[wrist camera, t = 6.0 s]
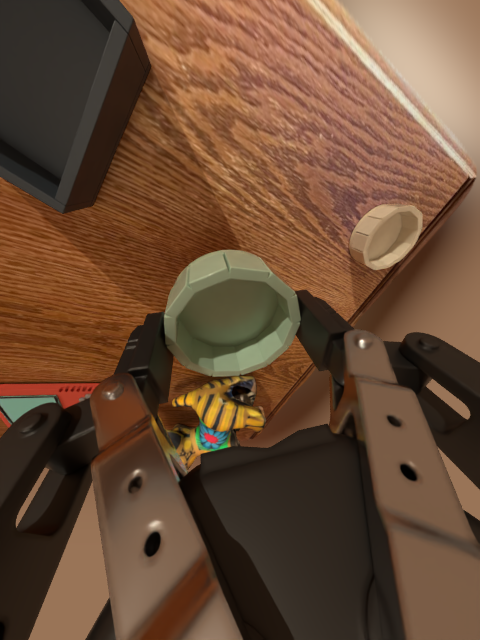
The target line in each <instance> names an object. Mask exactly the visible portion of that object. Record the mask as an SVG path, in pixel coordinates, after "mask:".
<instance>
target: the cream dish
mask: <svg viewBox="0 0 480 640" xmlns="http://www.w3.org/2000/svg"><path fill="white" fill-rule="evenodd" d="M421 231H422V213H421V212H420V211H419V210H418V209H417V208H416V207H415V206H412V205H405V204H382V205H379V206H377V207H375V208H373V209H372V210H370V211H369V212H368V213H367V214H365V215H364V216H363V217H362V219H361V220H360V221H359V222H358V224H357V225H356V227H355V228H354V230H353V233H352V235H351V238H350V242H349V251H350V254H351V256H352V258H353V259H354V260H356V261H358V262H359V263H361V264H363V265H365V266H367V267H369V268H371V269H373V270H379V269H386V268H387V267H388V268H389V267H390V266H392V265H394V264H395V263H397V262H398V261H400V260H401V259H403V258H404V256H405V255H406V254H407V253H408V252H409V251H410V250H411V249H412V248H413V246H414V245H415V243H416V241H417V239H418V237H419V235H420V233H421Z"/></svg>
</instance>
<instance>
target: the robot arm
mask: <svg viewBox="0 0 480 640" xmlns="http://www.w3.org/2000/svg"><path fill="white" fill-rule="evenodd" d="M295 294H296V295H297V298H298V304H299V310H300V316H301V321H300V326H299V328H298V330H297V332H296V336H297V337H298V339H299V341H300V342H301V344H302V345H303V347H304V348H305V350H306V351H307V353H308V355H309V356H310V358H311V359H312V361H313V362H314V364H315V366H316V367H317V368H318V370H319V371H324V370H329V371H330V373H331V375H330V378H329V381H330V382H329V383H330V413H331V414H330V423H329V425H328V424H324V425H320V426H315V427H311V428H307V429H303V430H299V431H297V432H295V433H293V434H292V435H290V436H288V437H287V438H285V439H283V440H282V441H280V442H278V443H277V444H275V445H274V446H272V447H269V448H257V447H241V446H231V447H227V448H223V449H219V450H215V451H210V452H206V453H202V454H201V464H200V465H198V466H196V467H195V468H194V469H192V470H191V471H190V472H188V471H187V469H186V467H185V465H184V464H183V462H182V460H181V458H180V457H179V455H178V453H177V451H176V449H175V447H174V445H173V443H172V441H171V439H170V437H169V435H168V433H167V431H166V429H165V427H164V425H163V423H162V420H161V418H160V416H159V415H158V407H159V404H161V403H166V402H168V396H169V388H170V381H171V373H172V365H173V357H174V355H173V354H172V353H171V351H170V350H169V349H168V348H167V345H166V344H165V329H164V315H165V313H164V312H158V313H152V314H147V316H146V319H145V322H144V325H140V326H138V327H137V328H136V329H135V330H134V331H133V332H132V333H131V335H130V337H129V339H128V343H127V344H126V346H125V350H124V351H123V354H122V356H121V358H120V361H119V363H118V366H117V368H116V370H115V373H114V375H112V376H110V377H108V378H106V379H105V380H103V381H102V382H101V383H100V384H98V386H97V387H96V388H95V389H94V390H93V392H92V394H91V396H90V398H88V399H85V400H83V401H81V402H78V403H76V404H74V405H72V406H69V407H67V408H65V409H64V408H63V407H61V406H60V405H59V404H57V403H54V402H50V403H44V404H41V405H39V406H36V407H34V408H33V409H31V410H29V411H27V412H26V413H24V414H23V415H22V416H20V417H19V418H18V419H17V420H16V421H15V422H14V423H13V424H12V425H11V426H10V427H9V428H8V429H7V431H6V432H5V433H4V434H3V435H2V437H1V438H0V640H28V639H29V637H30V634H31V632H32V629H33V627H34V624H35V621H36V619H37V617H38V614H39V612H40V609H41V607H42V604H43V602H44V599H45V597H46V594H47V592H48V589H49V587H50V584H51V582H52V580H53V577H54V575H55V572H56V570H57V567H58V565H59V562H60V560H61V557H62V555H63V552H64V550H65V547H66V545H67V542H68V540H69V538H70V535H71V533H72V530H73V528H74V525H75V523H76V520H77V518H78V515H79V513H80V510H81V508H82V505H83V503H84V500H85V498H86V495H87V493H88V490H89V488H90V486H91V483H92V481H93V487H94V494H95V501H96V507H97V514H98V521H99V528H100V535H101V541H102V548H103V554H104V561H105V567H106V575H107V581H108V589H109V595H110V597H109V599H108V601H107V603H106V604H105V606H104V608H103V610H102V611H101V613H100V615H99V617H98V618H97V620H96V622H95V624H94V625H93V627H92V629H91V631H90V632H89V634H88V636H87V638H86V639H85V640H480V521H479V520H478V519H476V518H475V517H473V516H472V515H471V514H469V513H468V512H466V511H465V510H463V509H462V506H461V504H460V501H459V499H458V497H457V494H456V491H455V489H454V487H453V484H452V482H451V479H450V477H449V474H448V472H447V470H446V467H445V465H444V462H443V460H442V457H441V455H440V453H439V450H438V448H437V447H439V448H440V450H441V451H442V452H443V453H444V454H445V455H446V456H447V457H448V458H449V459H450V460H451V461H452V462H453V463H454V464H455V465H456V466H457V467H458V468H459V469H460V470H461V471H462V472H463V473H464V474H465V475H466V476H467V477H468V478H469V479H470V480H471V481H472V482H473V483H474V484H475V485H476V486H477V487H478V488H479V489H480V363H479V362H478V361H476V360H474V359H473V358H471V357H469V356H468V355H466V354H464V353H463V352H461V351H459V350H458V349H456V348H455V347H453V346H451V345H449V344H448V343H446V342H445V341H443V340H441V339H439V338H437V337H435V336H432V335H429V334H425V333H419V332H414V333H409V334H407V335H406V336H405V338H404V339H403V341H402V342H388V341H382V340H381V339H380V338H379V337H377V336H376V335H375V334H373V333H370V332H368V331H364V330H355V329H354V328H353V327H352V326H351V325H350V324H348V323H347V322H346V321H345V320H344V319H343V318H342V317H341V316H340V315H339V314H338V313H336V311H335V310H334V309H333V308H331V306H330V305H328V304H327V303H326V302H325V301H323V300H321V299H319V298H317V297H313V296H312V295H311V294H310V293H309V292H308V291H307V290H299V291H295ZM431 379H434V380H435V381H436V382H437V383H439V384H440V385H441V386H443V387H444V388H445V389H446V390H448V391H449V392H450V393H452V394H453V395H454V396H456V397H457V398H458V399H459V400H461V401H462V402H463V403H464V404H465V405H466V406H467V407H468V409H469V410H470V414H471V416H470V418H469V419H468V420H467V419H465V418H463V417H462V416H461V415H460V414H458V413H457V412H456V411H455V410H453V409H452V408H451V407H450V406H449V405H448V404H446V403H445V402H444V401H443V400H441V399H440V398H439V397H438V396H437V395H435V394H434V393H433V392H432V391H431V390H429V389H428V388H427V387H426V385H427V384H428V383H429V382H430V381H431ZM45 467H46V468H48V469H50V470H49V471H48V473H47V475H46V477H45V478H44V480H43V482H42V484H41V486H40V487H39V489H38V491H37V493H36V495H35V496H34V498H33V500H32V501H31V503H30V505H29V507H28V509H27V510H26V512H25V514H24V516H23V517H22V519H21V521H20V523H19V524H18V526H17V528H16V518H17V515H18V513H19V510H20V508H21V507H22V505H23V503H24V502H25V500H26V498H27V497H28V495H29V493H30V491H31V490H32V488H33V486H34V485H35V483H36V481H37V480H38V478H39V476H40V474H41V473H42V471H43V469H44V468H45Z"/></svg>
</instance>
